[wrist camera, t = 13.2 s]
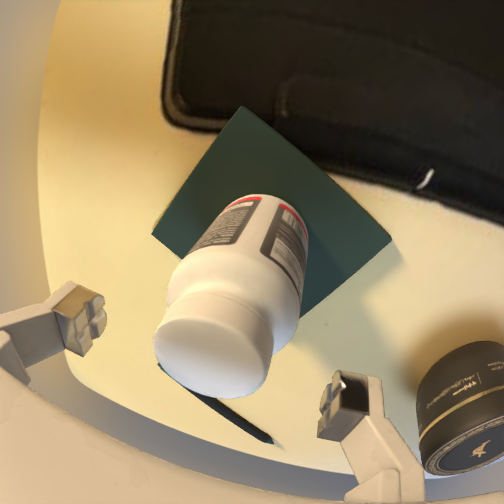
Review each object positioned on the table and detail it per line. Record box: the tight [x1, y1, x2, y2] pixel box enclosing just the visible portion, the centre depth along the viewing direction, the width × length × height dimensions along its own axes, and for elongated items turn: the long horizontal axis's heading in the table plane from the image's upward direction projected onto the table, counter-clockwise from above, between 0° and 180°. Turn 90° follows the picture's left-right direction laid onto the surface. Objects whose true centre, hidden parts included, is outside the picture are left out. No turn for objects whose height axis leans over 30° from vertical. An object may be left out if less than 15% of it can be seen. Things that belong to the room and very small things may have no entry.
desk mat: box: [152, 106, 392, 318], centre depth 18 cm, size 11×10×1 cm
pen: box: [158, 362, 274, 444], centre depth 28 cm, size 1×16×1 cm, turn 43°
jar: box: [416, 341, 504, 476], centre depth 17 cm, size 10×10×8 cm
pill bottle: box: [153, 194, 308, 399], centre depth 14 cm, size 5×5×10 cm
